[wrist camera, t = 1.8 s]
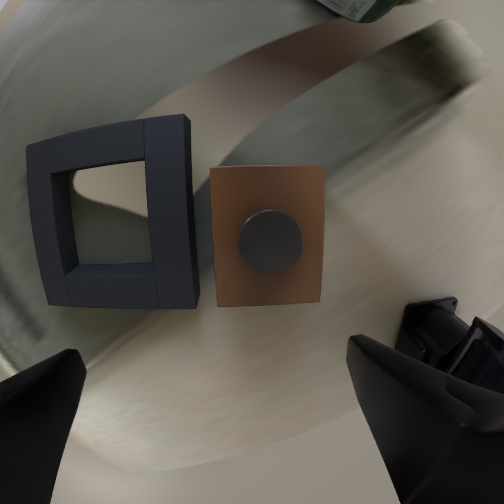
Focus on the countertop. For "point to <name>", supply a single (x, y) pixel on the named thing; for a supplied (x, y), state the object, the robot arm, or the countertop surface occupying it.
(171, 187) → the dark square frame
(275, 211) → the walnut block
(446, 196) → the countertop surface
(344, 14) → the coffee jar
